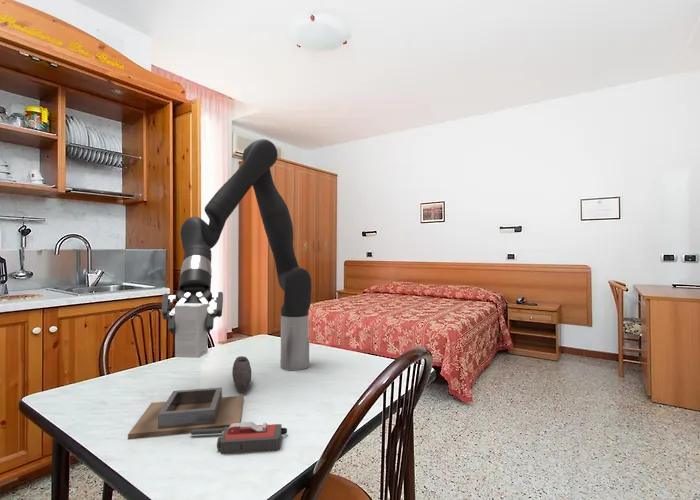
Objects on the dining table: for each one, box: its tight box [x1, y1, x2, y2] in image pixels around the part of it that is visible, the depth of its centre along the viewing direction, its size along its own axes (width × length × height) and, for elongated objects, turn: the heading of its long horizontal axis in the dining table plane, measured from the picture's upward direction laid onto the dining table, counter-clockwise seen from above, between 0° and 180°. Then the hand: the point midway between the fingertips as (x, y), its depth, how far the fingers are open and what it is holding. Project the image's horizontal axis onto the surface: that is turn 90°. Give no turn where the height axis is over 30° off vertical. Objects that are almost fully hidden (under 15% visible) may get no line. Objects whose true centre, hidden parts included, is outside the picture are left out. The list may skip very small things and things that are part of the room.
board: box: [127, 395, 245, 440], centre depth 86 cm, size 22×16×1 cm
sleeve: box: [158, 386, 223, 429], centre depth 86 cm, size 11×13×3 cm
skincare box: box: [174, 303, 209, 359], centre depth 87 cm, size 6×4×12 cm
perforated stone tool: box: [231, 355, 252, 393], centre depth 106 cm, size 15×5×7 cm, turn 17°
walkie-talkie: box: [189, 421, 288, 455], centre depth 75 cm, size 9×4×20 cm
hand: (190, 331), depth 86 cm, fingers closed on skincare box, 7 cm apart
